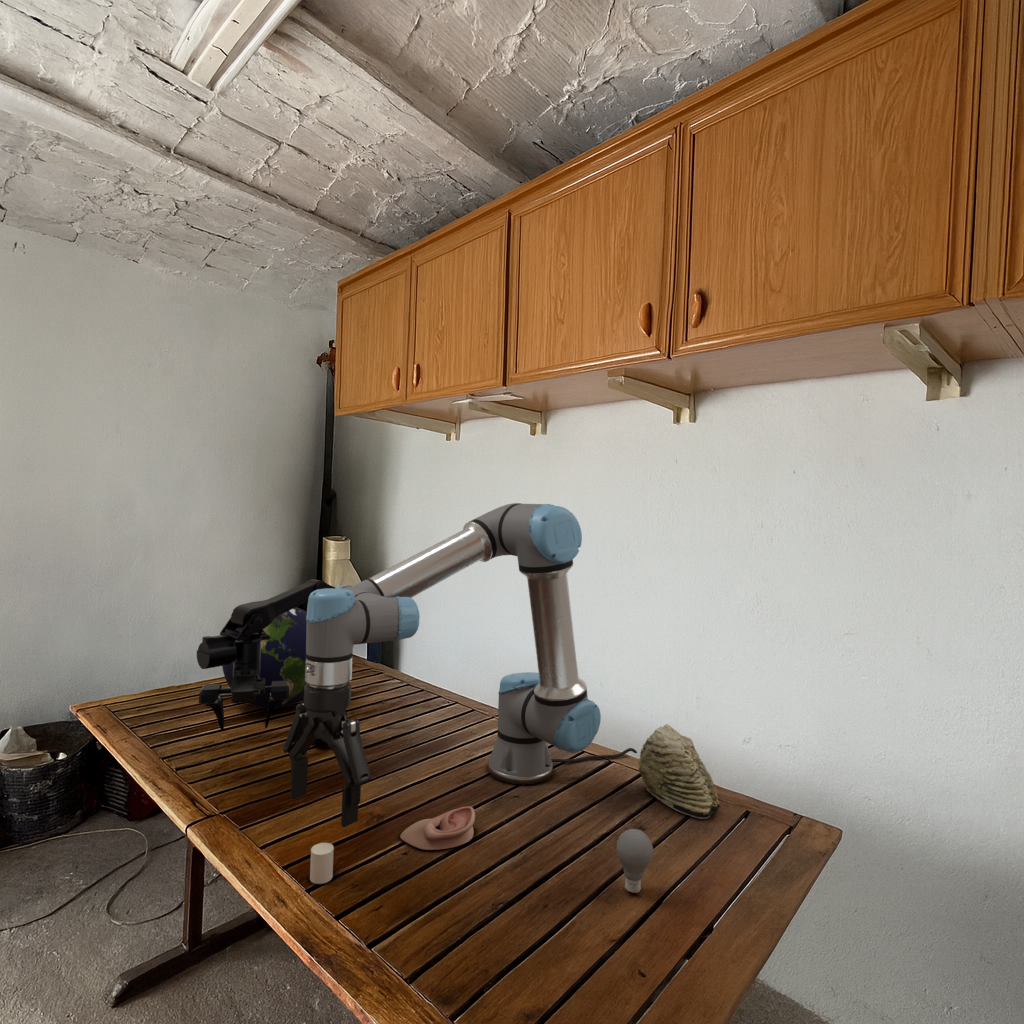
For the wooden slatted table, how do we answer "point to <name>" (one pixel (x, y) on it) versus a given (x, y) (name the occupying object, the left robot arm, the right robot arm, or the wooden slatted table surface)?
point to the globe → (282, 657)
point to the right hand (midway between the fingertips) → (323, 809)
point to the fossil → (677, 774)
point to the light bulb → (634, 857)
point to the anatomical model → (442, 830)
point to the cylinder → (321, 863)
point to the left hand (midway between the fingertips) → (244, 729)
